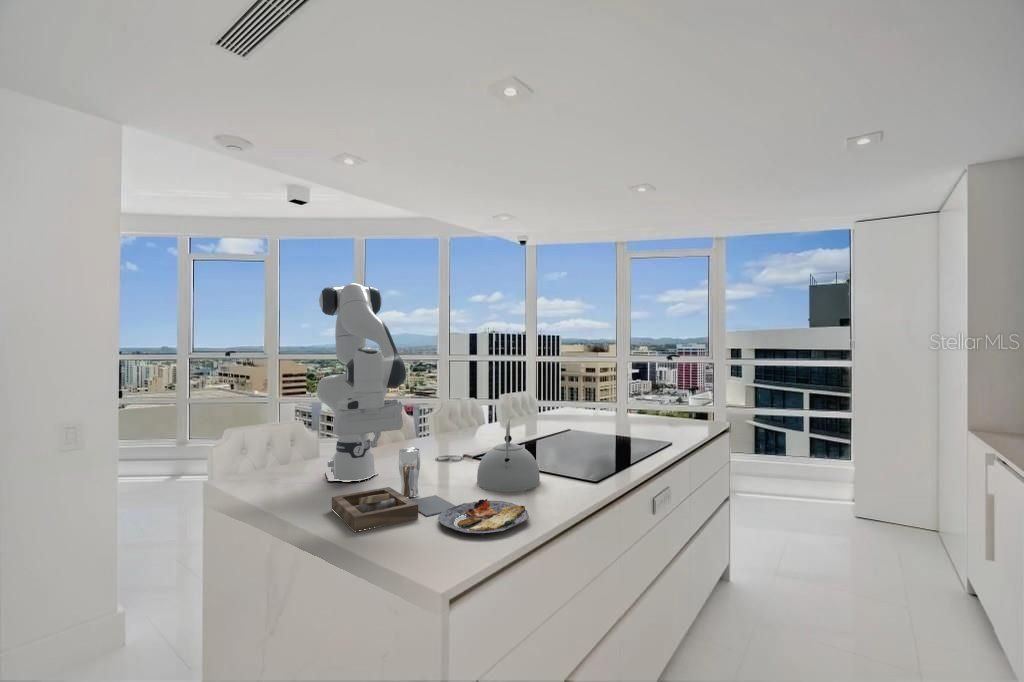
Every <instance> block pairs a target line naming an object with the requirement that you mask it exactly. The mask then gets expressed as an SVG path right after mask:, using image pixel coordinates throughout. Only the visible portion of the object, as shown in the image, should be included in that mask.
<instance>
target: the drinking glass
mask: <svg viewBox="0 0 1024 682" xmlns="http://www.w3.org/2000/svg"><path fill="white" fill-rule="evenodd" d="M398 470H399V476H400V483H401V489H400V494H402V495H403V496H405V497H414V496H417V495H419V496H420V491H419V477H420V476H419V475H420V470H421V451H420V448H418V447H417V448H416V447H408V448H407V447H406V448H401V449H399V453H398ZM417 497H418V496H417ZM414 498H415V497H414Z"/></svg>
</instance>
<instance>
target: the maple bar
mask: <svg viewBox="0 0 1024 682" xmlns="http://www.w3.org/2000/svg"><path fill="white" fill-rule="evenodd" d="M358 500H359V504H367V503H375V502H380V501H386V500H390V498H389V493H387V494H381V495H374V496H368V497H363V498H358Z"/></svg>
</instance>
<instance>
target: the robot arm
mask: <svg viewBox="0 0 1024 682" xmlns="http://www.w3.org/2000/svg"><path fill="white" fill-rule="evenodd" d="M318 298H319V299H318V302H319V303H318V304H319V308H320V309H321V312H322V313H324V315H327V316H336V321H335V329H334V330H335V337H334V338H335V356H336V358H337V360H338V361H339V362H340V363H341V364H343V365H345V370H346V371H345V372H346V373H343V374H341V373H340V374H332V375H327V376H326V375H325V376H324V377H322V378H321V379H320V380H319V382H318V383H317V386H316V395H317V397H318V399H319V400H320V401H321V402H322V403H323V404H324V405H325V406H327V407H328V408H329V409H331V411H332V412H333V414H334V418H333V432H334V435H336V436H337V441H336V445H335V450H336V451H335V453H334V454H333V456H332V457H331V460H328V461H327V468H330V469H331V472H333V475H334V479H339V480H358V479H364V478H367V477H370V476H372V475H373V474H375V473H377V472H378V473H379V471H378V470H375V469H376V468H375V466H376V465H375V455H374V452H373V451H371V450H370V449H372V448H378V441H379V439H380V437H381V435H382V433H383V432H390V431H399V430H401V429H402V428H403V426H404V423H403V422H404V420H403V414H402V412H403V404H402V402H401V401H400V400H398V399H387V400H385V398H386V396H387V394H388V391H389V389H397V388H399V387H400V386H401V385H402V384H404V382H406V377H407V369H406V365H405V363H404V361H403V359H402V358H401V356H400V354H399V352H398V349H397V347H396V344H395V341H394V339H393V336H392V335H391V333H390V330H389V328H388V326H387V324H386V322H385V321H383V320H381V319H380V318H379V317H378V316H377V314H378V313H379V312H380V310H381V307H382V305H383V298H382V295H381V292H380V290H379V289H378V288H376V287H372V286H368V287H366V286H363V285H362V284H359V283H349V284H347V285H344V286H336V287H333V286H328V287H325V288H323V289H322V290H321V293H320V295H319V297H318ZM367 340H369V341H372V342H374V343H376V344H377V345H378V347H373V346H372V347H371V346H367ZM371 433H372V434H373V435H374V438H373V440H371V438H370V437H369V436H370V434H371Z"/></svg>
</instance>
